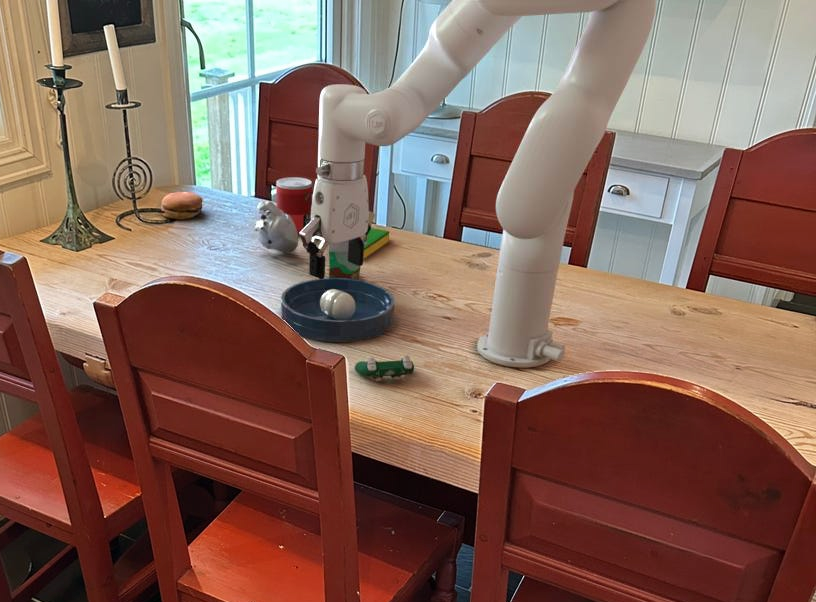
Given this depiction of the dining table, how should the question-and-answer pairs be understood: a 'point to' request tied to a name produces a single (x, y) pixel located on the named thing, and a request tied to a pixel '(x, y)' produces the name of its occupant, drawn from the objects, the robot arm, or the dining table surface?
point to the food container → (342, 262)
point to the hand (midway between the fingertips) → (336, 270)
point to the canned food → (295, 200)
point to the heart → (276, 228)
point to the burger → (181, 205)
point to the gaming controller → (385, 368)
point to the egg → (337, 304)
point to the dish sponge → (375, 240)
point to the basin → (311, 322)
